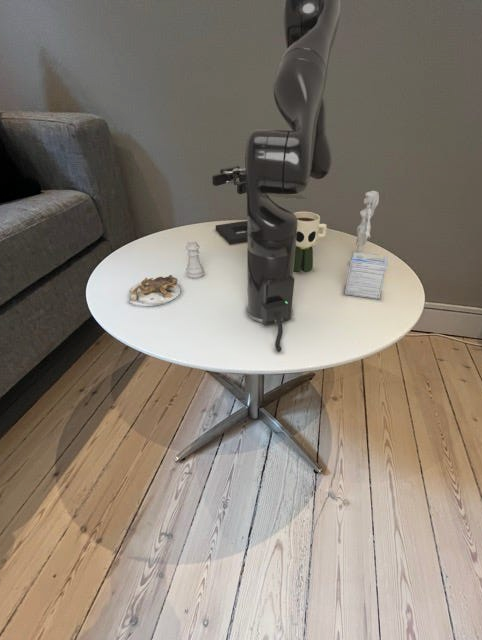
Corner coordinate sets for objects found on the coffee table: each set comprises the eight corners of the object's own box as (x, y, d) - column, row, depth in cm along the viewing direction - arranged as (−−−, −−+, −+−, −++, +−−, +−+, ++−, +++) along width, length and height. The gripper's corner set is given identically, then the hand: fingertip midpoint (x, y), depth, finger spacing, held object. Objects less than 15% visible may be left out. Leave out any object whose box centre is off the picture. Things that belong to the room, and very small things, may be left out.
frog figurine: (180, 279, 94) (178, 264, 91) (181, 304, 85) (179, 288, 82) (132, 282, 92) (128, 267, 90) (127, 308, 84) (123, 292, 81)
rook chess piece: (203, 279, 94) (200, 247, 89) (184, 278, 94) (181, 246, 89) (205, 270, 97) (202, 239, 92) (187, 270, 97) (184, 239, 92)
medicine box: (379, 291, 91) (388, 255, 85) (379, 300, 88) (388, 264, 82) (346, 286, 93) (352, 251, 87) (344, 295, 89) (351, 259, 84)
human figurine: (348, 254, 106) (362, 183, 94) (362, 255, 106) (377, 184, 94) (351, 274, 97) (366, 198, 85) (366, 275, 97) (383, 199, 85)
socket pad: (268, 238, 114) (268, 233, 113) (230, 244, 110) (230, 239, 109) (251, 224, 122) (251, 219, 121) (215, 230, 118) (215, 225, 117)
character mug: (280, 275, 97) (284, 221, 88) (277, 262, 102) (280, 211, 93) (323, 274, 97) (331, 221, 88) (318, 262, 102) (325, 211, 94)
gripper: (252, 150, 99) (204, 161, 91) (295, 161, 92) (247, 173, 83) (252, 182, 104) (206, 195, 96) (292, 194, 97) (247, 209, 88)
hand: (225, 185), depth 89 cm, fingers open, 8 cm apart
